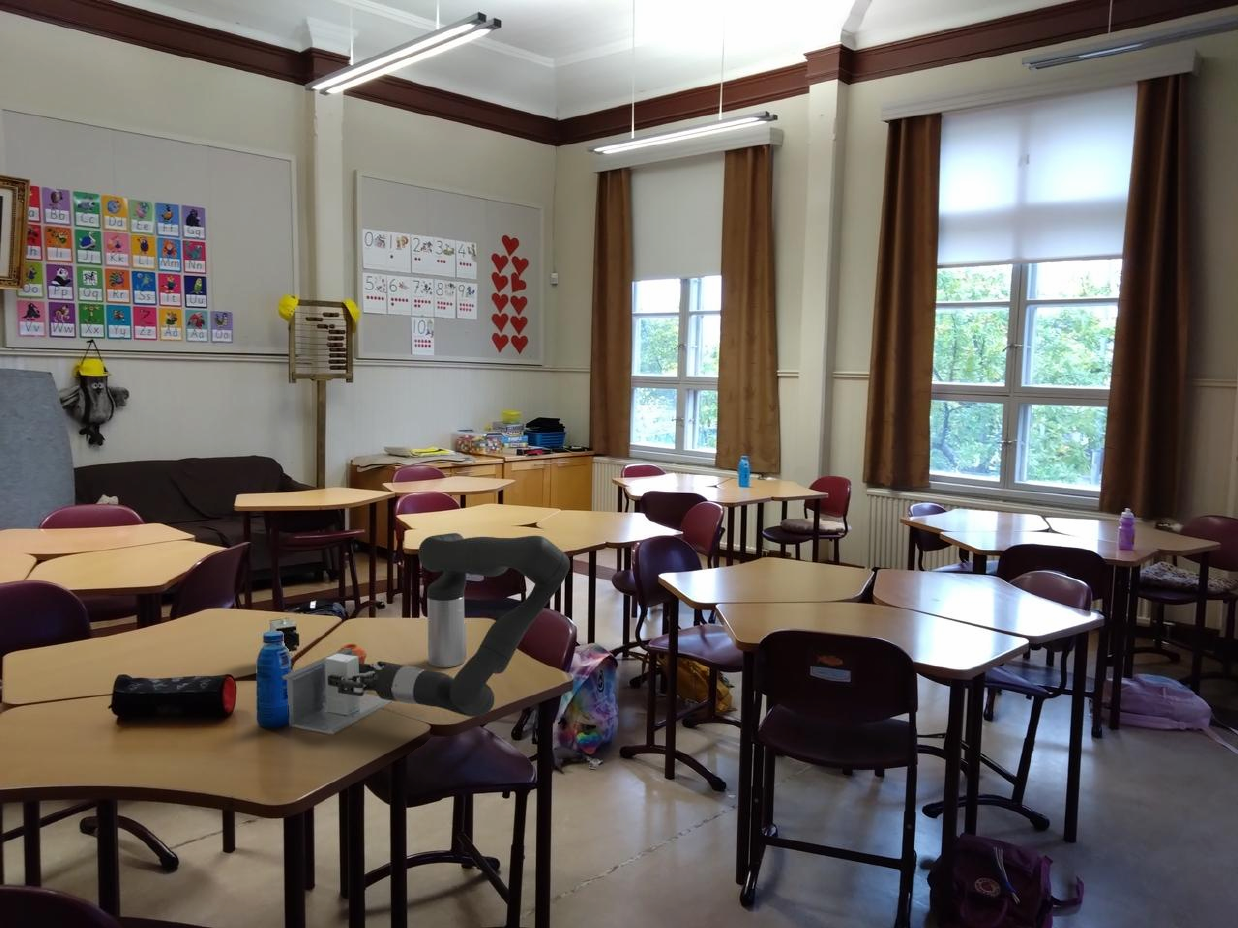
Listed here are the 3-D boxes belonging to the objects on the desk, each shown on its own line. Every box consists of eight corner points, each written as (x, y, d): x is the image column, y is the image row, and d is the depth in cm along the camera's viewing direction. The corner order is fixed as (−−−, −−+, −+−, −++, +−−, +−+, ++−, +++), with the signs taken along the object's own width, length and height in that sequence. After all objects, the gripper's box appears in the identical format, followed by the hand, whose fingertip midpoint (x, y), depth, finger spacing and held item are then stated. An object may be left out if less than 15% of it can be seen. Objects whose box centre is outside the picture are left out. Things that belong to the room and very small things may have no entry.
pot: (364, 673, 217) (357, 647, 216) (333, 680, 217) (326, 654, 216) (373, 661, 225) (366, 636, 224) (344, 668, 225) (337, 643, 224)
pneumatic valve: (278, 673, 217) (277, 626, 216) (269, 660, 227) (268, 614, 226) (302, 669, 220) (300, 622, 219) (292, 656, 230) (291, 611, 229)
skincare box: (360, 709, 193) (359, 656, 192) (347, 716, 189) (346, 662, 188) (338, 705, 196) (337, 652, 194) (325, 711, 192) (323, 658, 190)
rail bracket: (346, 693, 204) (345, 648, 203) (391, 701, 200) (390, 655, 199) (283, 724, 186) (282, 676, 185) (332, 734, 181) (331, 684, 180)
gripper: (423, 656, 192) (362, 647, 198) (383, 677, 179) (318, 666, 185) (424, 689, 193) (363, 679, 199) (383, 713, 179) (319, 701, 185)
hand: (342, 673), depth 192 cm, fingers open, 8 cm apart
